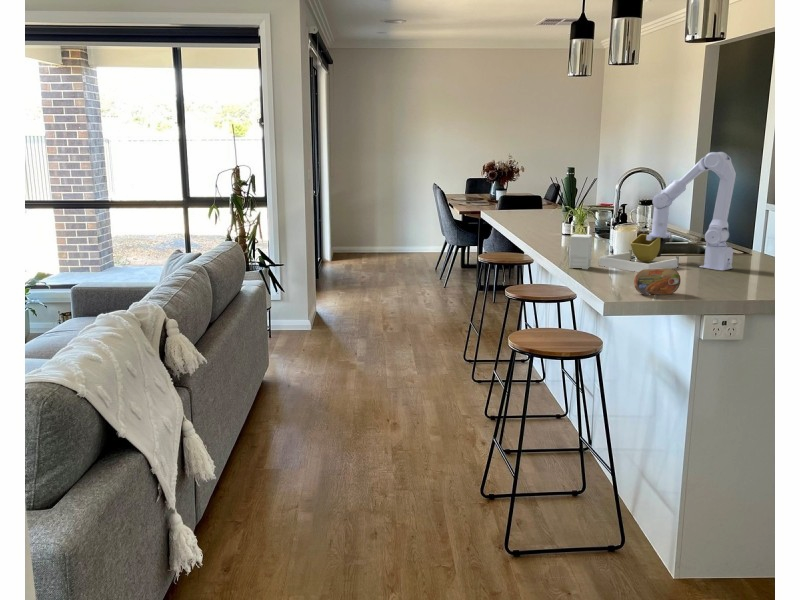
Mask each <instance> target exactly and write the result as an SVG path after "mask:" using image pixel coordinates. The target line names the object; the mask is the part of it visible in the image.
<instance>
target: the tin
mask: <svg viewBox="0 0 800 600" xmlns="http://www.w3.org/2000/svg"><path fill="white" fill-rule="evenodd" d="M636 273H637V274H635V277H634V281H633V285H634V288H635V290H636V291H637V292H638V293H639V294H642V295H644V296H650V295H649V294H665V295H671V294H673V293H675V292H676V291H678V289H679V288H680V285H681V279H682V278H681V276H680V274H679V272H678V270H675V268H673V269H670V268H661V269H644V270H641V271H640V272H636Z"/></svg>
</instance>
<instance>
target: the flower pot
mask: <svg viewBox="0 0 800 600" xmlns="http://www.w3.org/2000/svg"><path fill="white" fill-rule="evenodd" d="M647 235H648V234H647V233H646V234H645V233H641V234H639V235H638V236H637V237H635V238H634V239H633V240H632V241H631V242H630V243H629V244H630V247H631V250H632V253H633V255H634V257H635V258H636V259H637V260H638V261H640V262H645V263H646V262H647V263H652V261H653V260H655V258H658V257H657V255H658V253H659V250H660V237H658V238H656V239H655V240H652V241H649V240H646V236H647Z"/></svg>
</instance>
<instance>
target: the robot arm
mask: <svg viewBox="0 0 800 600" xmlns="http://www.w3.org/2000/svg"><path fill="white" fill-rule="evenodd" d="M708 171H711V172H714V173H715V175H717V176H718V177H719V183H718V189H717V193H716V198H715V206H714V209H713V210H714V211H713V215H712V220H711V222H710V223H709V225H708V229H707V231H706V232H705V234H704V241H705V242H706V243H705V251H704V261H703V265H699V268H701V269H703V268H704V269H709V270H710V269H711V270H716V271H727V270H730V269H733V257H734V250H733V247H731V246H728V245H727V241H728V240H729V238H730V232H729V225H730V224H729V222H728V219H729V214H730V208H731V202H732V197H733V192H734V189H735V188H734V187H735V183H736V176H737V173H736V171H735V168H734V165H733V163H732V158H731V156H729V155H728V154H727V153H726V152H724V151H717V152H715V151H711V152H708V153H707V154H705V156H703V157H701V158H700V159H699V161H698V162H697V163H695V165H693V167H691V169H689V170H688V171H687V172H686V173H685V174H684V175H683V176H681V178H680V179H678V178H677V179H676V178H675V179H674V180H670V182H669V185H668V186H666V187H665V188H664V189H661V190H660V193H657V194H655V195H654V197H653V198H652V205H653V214H652V215H653V216H652V223H651V224H652V226H651V232H649V234H646V235H647V236H646V240H649V241H652V240H655V239H656V238H658V237H660V250H659V253H658V255H657V257H656V258H659V257H661V255H662V252H663V251H662V250H663V247H664V246H665V245H666V243H667V239H670V238H671V236H672V233H671V232H667V231H668V223H669V222H668V221H669V215H670V214H669V211H670V206H671V205H672V204H673V202H674V201H675V200H676V199H677V198H678V197H679V196H681V195H682V194H683V193H684V192H685V191H686V190H687V185H688V184H690V182H692V181H693V180H695V179H696V178H697V177H698V176H699V175H701V173H703V172H708Z"/></svg>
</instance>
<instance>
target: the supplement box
mask: <svg viewBox="0 0 800 600" xmlns="http://www.w3.org/2000/svg"><path fill="white" fill-rule="evenodd" d="M569 239H570V240H569V241H570V242H569V258H568V259H569V261H568V269H573V268H582V269H581V270H589V269H590V268H591V267H590V266H592V251H593V250H592V247H593V244H592V243H593V235H592V234H581V233H580V234H577V233H574V234H572V235H571V236H569ZM589 267H590V268H589ZM588 268H589V269H588Z"/></svg>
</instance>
